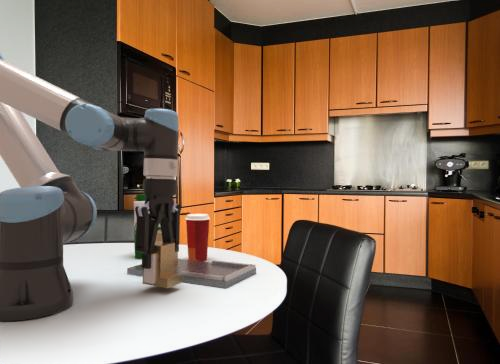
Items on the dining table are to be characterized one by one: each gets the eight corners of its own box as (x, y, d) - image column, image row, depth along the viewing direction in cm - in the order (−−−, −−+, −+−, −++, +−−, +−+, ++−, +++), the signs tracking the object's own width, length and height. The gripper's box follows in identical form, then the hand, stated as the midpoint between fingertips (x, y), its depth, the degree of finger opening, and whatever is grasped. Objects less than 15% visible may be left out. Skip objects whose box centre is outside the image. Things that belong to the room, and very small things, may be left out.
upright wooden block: (167, 288, 86) (168, 246, 86) (140, 283, 89) (141, 243, 89) (181, 283, 90) (181, 243, 90) (155, 278, 94) (155, 240, 94)
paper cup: (212, 257, 125) (212, 213, 125) (207, 262, 118) (207, 216, 117) (188, 257, 126) (188, 213, 126) (181, 262, 118) (181, 215, 118)
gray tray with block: (225, 288, 91) (225, 242, 91) (127, 273, 104) (127, 234, 104) (256, 273, 105) (256, 233, 105) (166, 262, 118) (166, 227, 118)
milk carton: (139, 253, 132) (139, 193, 131) (166, 253, 131) (166, 193, 131) (131, 259, 123) (130, 195, 123) (160, 259, 123) (159, 195, 122)
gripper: (146, 177, 80) (143, 292, 80) (196, 178, 96) (194, 273, 97) (118, 177, 84) (115, 286, 84) (172, 178, 100) (169, 269, 100)
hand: (157, 279), depth 90 cm, fingers closed on upright wooden block, 5 cm apart
